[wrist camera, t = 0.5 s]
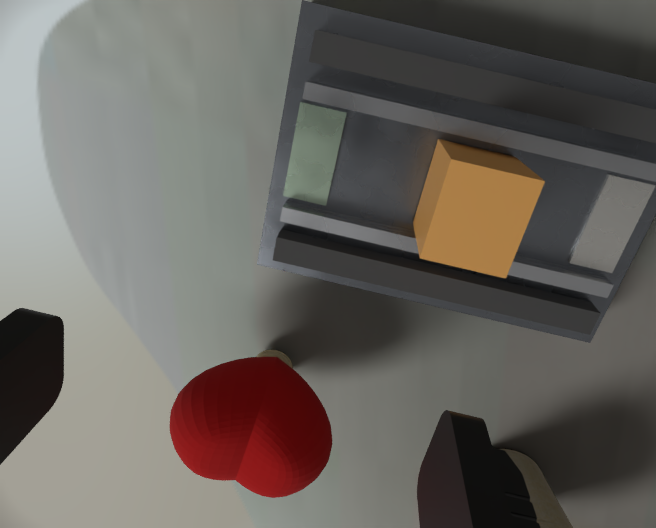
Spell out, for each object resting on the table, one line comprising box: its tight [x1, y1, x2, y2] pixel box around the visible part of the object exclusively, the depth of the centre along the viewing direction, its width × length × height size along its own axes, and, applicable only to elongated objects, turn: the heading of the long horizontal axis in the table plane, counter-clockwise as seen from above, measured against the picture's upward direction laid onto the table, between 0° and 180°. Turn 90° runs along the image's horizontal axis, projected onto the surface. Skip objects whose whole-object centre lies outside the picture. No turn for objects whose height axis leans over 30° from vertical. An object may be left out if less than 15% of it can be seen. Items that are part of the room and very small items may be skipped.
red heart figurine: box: [170, 350, 332, 498], centre depth 30 cm, size 9×7×10 cm
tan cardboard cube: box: [413, 139, 545, 278], centre depth 24 cm, size 4×5×5 cm
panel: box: [257, 0, 656, 343], centre depth 27 cm, size 20×14×4 cm
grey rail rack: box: [273, 30, 656, 335], centre depth 26 cm, size 18×12×1 cm, turn 78°
